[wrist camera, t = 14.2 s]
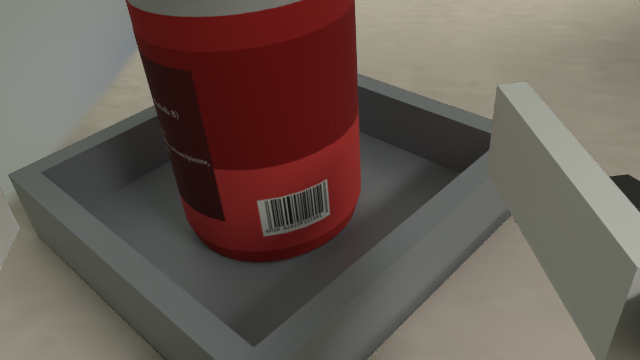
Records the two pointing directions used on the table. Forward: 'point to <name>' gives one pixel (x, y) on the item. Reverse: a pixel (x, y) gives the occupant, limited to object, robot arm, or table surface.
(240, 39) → the canned food
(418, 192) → the tray
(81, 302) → the table surface
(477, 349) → the table surface
